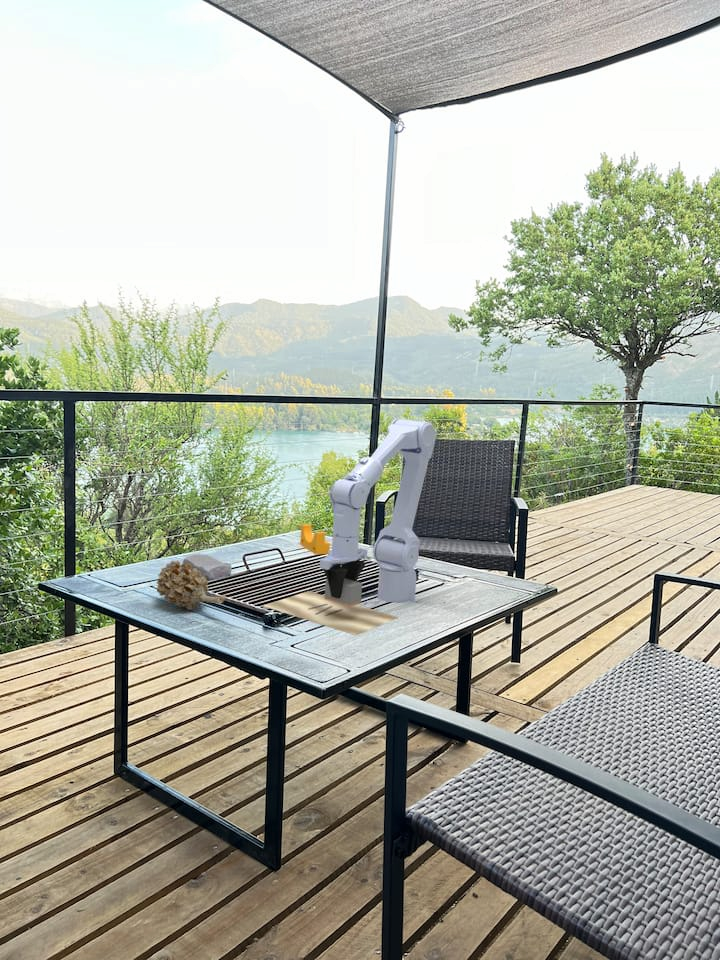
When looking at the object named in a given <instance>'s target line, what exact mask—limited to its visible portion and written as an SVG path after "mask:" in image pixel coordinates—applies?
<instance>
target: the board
mask: <svg viewBox="0 0 720 960" xmlns="http://www.w3.org/2000/svg"><path fill="white" fill-rule="evenodd" d="M263 608H265V610H268V609H271V610H274V611H277V612H281V613H283V614H286V615H290V616H294V617H296V618H299V619H303V620H306V621H310V622H312V623H314V624H315V623H316V624H318V625H320V626H321V625H322V626H325V627H327V628H331V629H333V630H334V629H335V630H337V631H341V632H344V633H346V634H350V635H353V636H359V635H361V634H363V633H366V632H368V631H370V630H372V629H374V628H377V627H380V626H381V625H384V624H386V623H387V624H388V623H389V622H391V621H393V620H396V619H398V618H399V616H396V615H392V614H389V613H385V612H382V611H379V610H375V609H372V608H368V607H365V606H362V605H359V604H357V605H354V606H351V607H349V606H345V605H342V604H339V603H335V602H332V601H329V600H325V594H324V595H323V594H319V593H316V592H312V591H311V590H307V591H304V592H301V593H299V594H298V593H297V594H295V595H292V596H289V597H286V598H283V599H280V600H277V601H273V602H271V603H267V604H264V605H262V609H263Z"/></svg>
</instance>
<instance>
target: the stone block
mask: <svg viewBox="0 0 720 960" xmlns="http://www.w3.org/2000/svg"><path fill="white" fill-rule="evenodd" d="M184 562H186V563H187V564H189V563H190V565H191V568H192V570H193V569H194V568H196V569H197V571H200V573H201V576H203V577H205V578H206V580H208V581H210V580H216V579H218V578H226V577H229V576H230V574H231V572H232V564H231V563H228V562H222V561H219V559H217V558H215V557H212V556H210V555H207V554H200V553H199V554H191V555H189V556H186V557H184V558H183V560H182V564H183V563H184Z"/></svg>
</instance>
